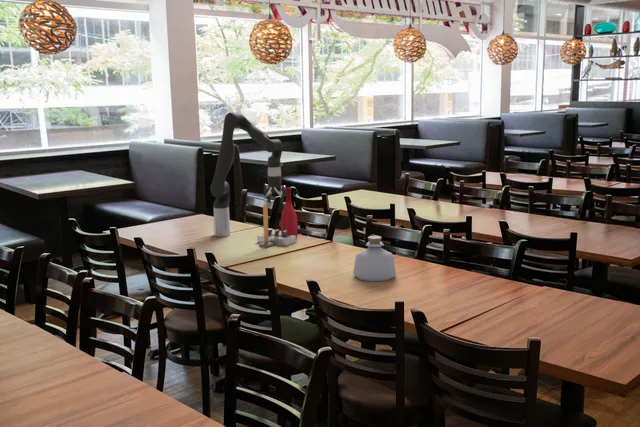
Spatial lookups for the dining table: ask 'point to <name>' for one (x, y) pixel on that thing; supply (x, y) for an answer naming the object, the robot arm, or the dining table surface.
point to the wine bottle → (289, 216)
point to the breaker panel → (278, 239)
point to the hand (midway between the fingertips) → (275, 203)
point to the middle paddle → (276, 232)
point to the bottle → (374, 262)
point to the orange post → (265, 229)
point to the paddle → (270, 231)
